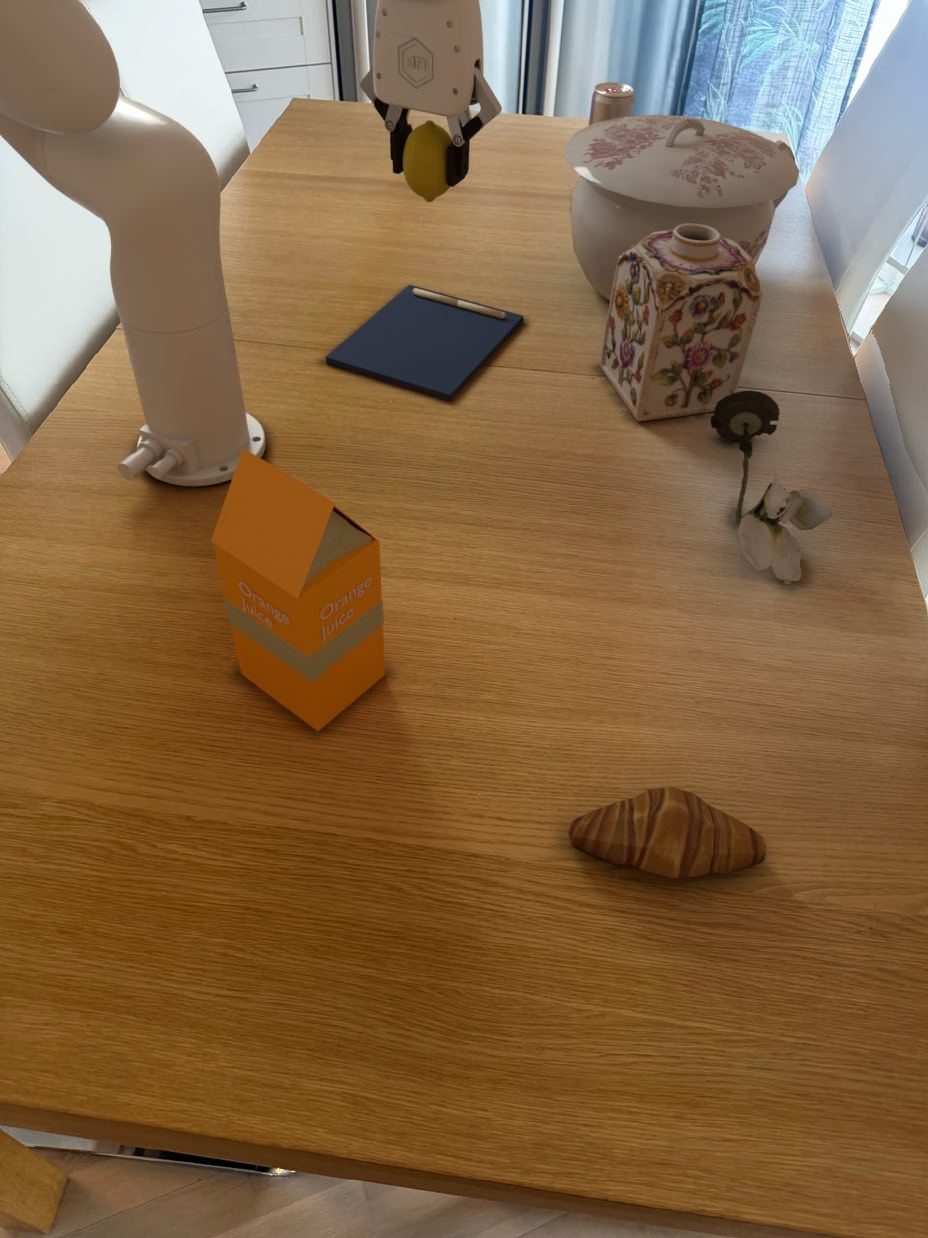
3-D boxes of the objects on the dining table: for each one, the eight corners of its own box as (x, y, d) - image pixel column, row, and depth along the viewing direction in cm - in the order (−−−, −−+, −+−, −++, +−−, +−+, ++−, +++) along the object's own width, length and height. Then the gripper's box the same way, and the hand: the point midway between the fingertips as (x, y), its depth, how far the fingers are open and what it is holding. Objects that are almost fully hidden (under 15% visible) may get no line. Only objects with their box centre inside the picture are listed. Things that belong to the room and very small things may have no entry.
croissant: (754, 815, 67) (773, 776, 63) (767, 903, 62) (789, 866, 58) (566, 798, 67) (575, 759, 63) (566, 884, 62) (575, 847, 59)
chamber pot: (532, 325, 113) (549, 146, 98) (568, 231, 132) (587, 69, 117) (764, 361, 110) (818, 181, 95) (767, 259, 128) (814, 95, 113)
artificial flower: (776, 450, 99) (832, 382, 91) (780, 615, 86) (845, 551, 78) (701, 422, 98) (750, 350, 90) (692, 584, 85) (750, 517, 77)
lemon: (457, 193, 100) (459, 112, 94) (452, 214, 96) (454, 132, 91) (407, 189, 100) (406, 109, 95) (399, 210, 97) (398, 128, 91)
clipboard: (450, 401, 102) (450, 388, 100) (325, 362, 106) (324, 350, 105) (523, 321, 114) (524, 309, 113) (409, 289, 119) (409, 278, 118)
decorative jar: (634, 425, 100) (667, 263, 87) (595, 367, 107) (620, 211, 94) (735, 411, 102) (781, 252, 89) (689, 356, 110) (726, 202, 97)
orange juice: (309, 621, 78) (284, 422, 64) (387, 674, 75) (379, 475, 60) (238, 675, 74) (194, 474, 59) (316, 734, 70) (290, 535, 56)
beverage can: (572, 192, 142) (585, 83, 131) (606, 187, 143) (621, 79, 133) (592, 207, 138) (607, 97, 127) (626, 202, 140) (644, 92, 129)
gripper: (326, -39, 83) (339, 170, 96) (499, -10, 78) (488, 206, 92) (368, -54, 88) (375, 147, 101) (534, -28, 83) (519, 180, 96)
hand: (429, 173), depth 96 cm, fingers closed on lemon, 5 cm apart
